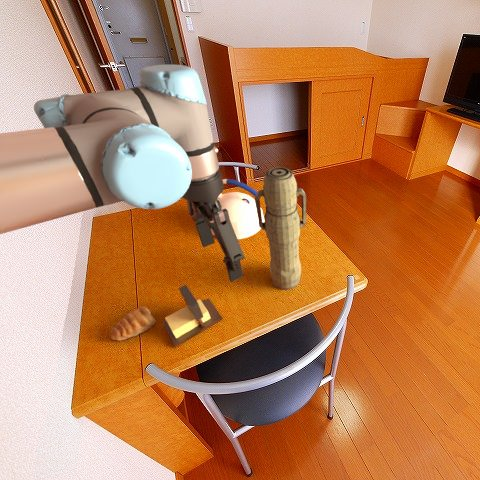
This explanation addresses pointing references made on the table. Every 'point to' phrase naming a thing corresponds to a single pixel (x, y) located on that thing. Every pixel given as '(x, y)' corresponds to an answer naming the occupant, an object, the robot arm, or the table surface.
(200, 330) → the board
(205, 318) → the butter slice
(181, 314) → the butter block
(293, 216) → the thermos
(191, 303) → the cutter
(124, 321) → the pastry
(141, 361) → the table surface
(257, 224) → the kettle
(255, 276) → the table surface
